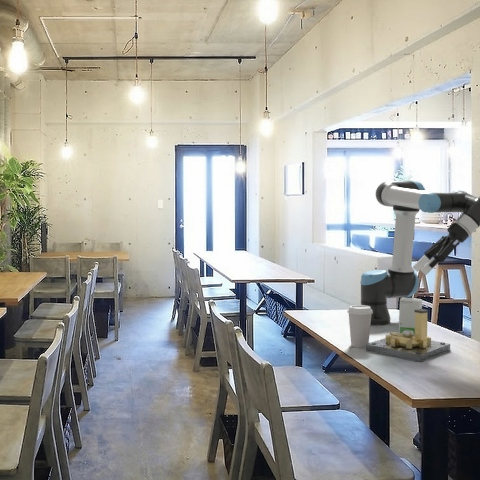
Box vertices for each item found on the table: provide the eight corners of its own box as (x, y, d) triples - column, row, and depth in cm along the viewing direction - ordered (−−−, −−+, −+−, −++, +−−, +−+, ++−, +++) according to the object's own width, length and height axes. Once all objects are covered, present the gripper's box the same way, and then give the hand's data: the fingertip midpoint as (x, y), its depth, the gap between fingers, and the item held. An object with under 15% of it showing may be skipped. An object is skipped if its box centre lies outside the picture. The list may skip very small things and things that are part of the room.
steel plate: (397, 340, 230) (397, 322, 230) (450, 350, 215) (450, 330, 214) (365, 350, 215) (365, 331, 214) (420, 362, 199) (420, 341, 199)
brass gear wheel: (376, 341, 217) (376, 306, 216) (406, 336, 226) (406, 302, 225) (409, 350, 204) (410, 313, 203) (440, 344, 212) (440, 308, 211)
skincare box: (398, 337, 236) (398, 299, 235) (400, 334, 242) (401, 296, 241) (419, 339, 232) (419, 300, 231) (421, 335, 238) (422, 298, 237)
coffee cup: (373, 343, 226) (374, 305, 225) (371, 349, 217) (371, 309, 216) (349, 341, 229) (349, 304, 228) (345, 347, 220) (345, 308, 219)
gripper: (480, 237, 206) (435, 282, 207) (458, 234, 228) (417, 274, 230) (466, 222, 206) (420, 267, 207) (444, 220, 228) (404, 261, 229)
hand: (418, 271), depth 218 cm, fingers open, 10 cm apart
